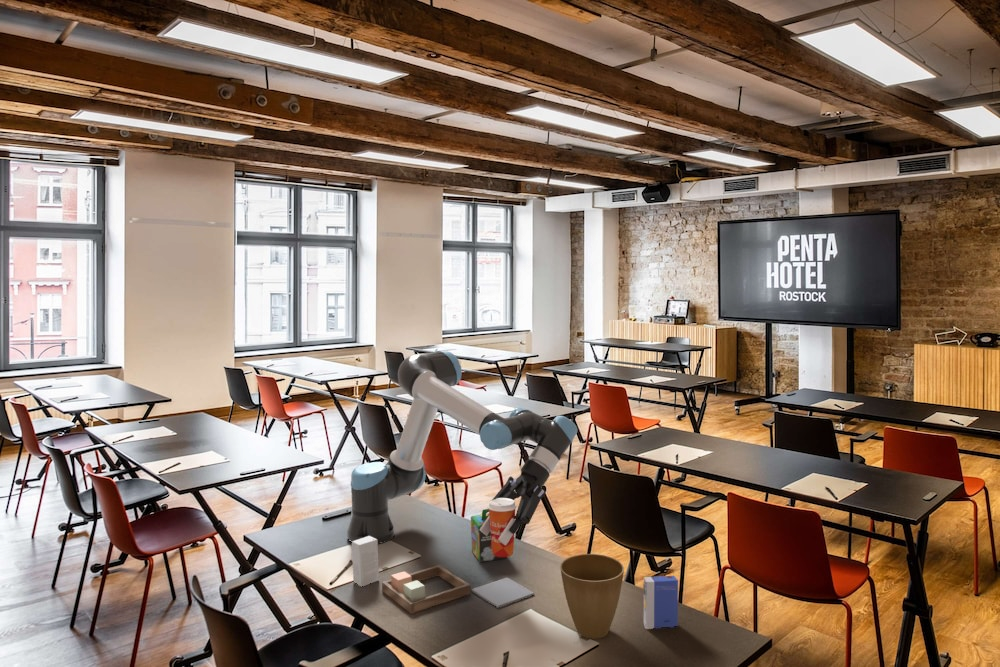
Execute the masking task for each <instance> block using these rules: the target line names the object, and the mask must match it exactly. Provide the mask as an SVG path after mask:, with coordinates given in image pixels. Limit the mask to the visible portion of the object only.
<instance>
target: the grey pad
mask: <svg viewBox="0 0 1000 667" xmlns="http://www.w3.org/2000/svg"><path fill="white" fill-rule="evenodd" d="M470 592H472V593H473V594H475V595H476V596H478V597H479V598H481V599H483V601H486V602H487V601H488V602H487V603H488V604H490V603H491V604H490V605H492V606H493V605H494V606H493V607H495V606H496V607H495V608H497V609H500V608H502V607H501V606H503V607H505V606H508V605H510V603H511V604H514V603H517V602H519V601H522V600H524V598H525V599H528V598H530V597H532V595H533V596H534V595H535V592H533V591H531V590H530V589H529V588H527V587H525V586H523V585H521V584H520V583H518V582H516V581H514V580H512V579H510V578H509V577H504V578H502V579H499V580H495V581H492V582H488V583H486V584H483V585H480V586H477V587H475V588H470ZM521 599H522V600H521ZM513 602H514V603H513ZM507 604H508V605H507ZM504 605H505V606H504ZM499 607H500V608H499Z"/></svg>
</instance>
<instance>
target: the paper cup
mask: <svg viewBox="0 0 1000 667" xmlns="http://www.w3.org/2000/svg"><path fill="white" fill-rule="evenodd" d="M517 508H518V507H517V504H516V502H515V500H512V499H509V498H496V499H494V500H492V499H491V500H489V502H488V505H487V509H489V512H488V513H489V518H490V531H491V544H492V553H493V555H494V556H496V557H511V556H512V555H513V554H514V548H515V545H514V544H515V534H513V535H512V537H511V538H510V540H509V542H508V543H507V545H504V544H503V543H502V542H500V541H499V540H498V539H499V537H500V536H501V534H502V532H503V531H504V529H505V528H506V526H507V525H508V523H509V522H510V520H511V519H512V518H513V516H516V509H517ZM513 519H515V518H513ZM515 520H516V519H515Z"/></svg>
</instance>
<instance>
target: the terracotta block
mask: <svg viewBox="0 0 1000 667" xmlns="http://www.w3.org/2000/svg"><path fill="white" fill-rule="evenodd" d="M409 574H410V573H408V572H407V571H405V570H404V571H400V572H397V573H394V574H391V575H390V580H391V586H392V587H394V588H395V589H396V590H398V591H399V592H400V593H402V594H403V595H404V584H406V583H409V582H412V576H410V575H409Z"/></svg>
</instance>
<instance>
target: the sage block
mask: <svg viewBox="0 0 1000 667" xmlns="http://www.w3.org/2000/svg"><path fill="white" fill-rule="evenodd" d="M404 596H406V597H407V598H408V599H410V600H411V601H412V602H413V601H416V600H419V599H422V598H425V597H426V587H425V585H424V584H423V583H421V581H418V580H416V581H413V582H409V583H406V584H404Z"/></svg>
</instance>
